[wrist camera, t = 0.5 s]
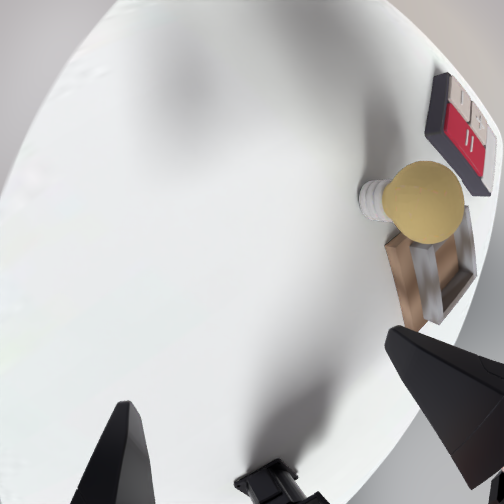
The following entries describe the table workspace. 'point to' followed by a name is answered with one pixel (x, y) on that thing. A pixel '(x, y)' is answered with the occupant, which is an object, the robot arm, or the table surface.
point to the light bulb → (417, 201)
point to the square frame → (432, 274)
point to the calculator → (461, 134)
